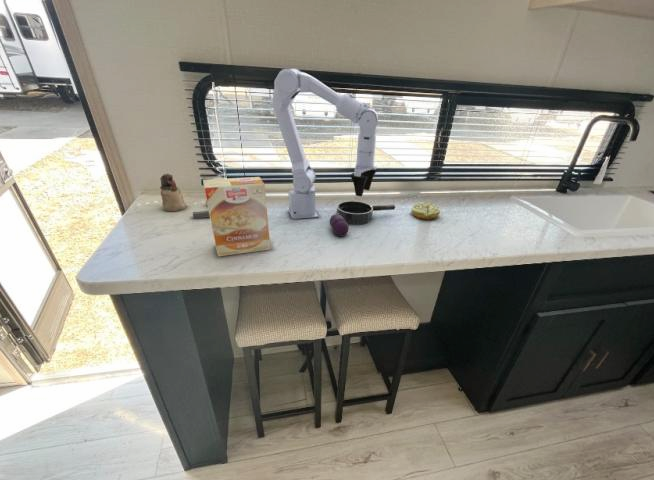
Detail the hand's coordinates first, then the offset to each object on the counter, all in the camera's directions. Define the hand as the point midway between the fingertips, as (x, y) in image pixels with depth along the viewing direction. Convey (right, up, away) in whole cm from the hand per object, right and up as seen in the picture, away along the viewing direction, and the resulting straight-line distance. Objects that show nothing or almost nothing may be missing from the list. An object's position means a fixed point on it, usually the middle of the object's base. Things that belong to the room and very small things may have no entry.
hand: (362, 192), depth 116 cm
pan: (-3, -7, +6) cm, 10 cm away
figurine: (-68, -4, +4) cm, 68 cm away
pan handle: (+8, -4, +8) cm, 12 cm away
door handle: (-51, -7, +3) cm, 52 cm away
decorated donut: (+24, -5, +13) cm, 28 cm away
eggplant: (-9, -14, -3) cm, 17 cm away
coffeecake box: (-36, -22, -17) cm, 46 cm away
